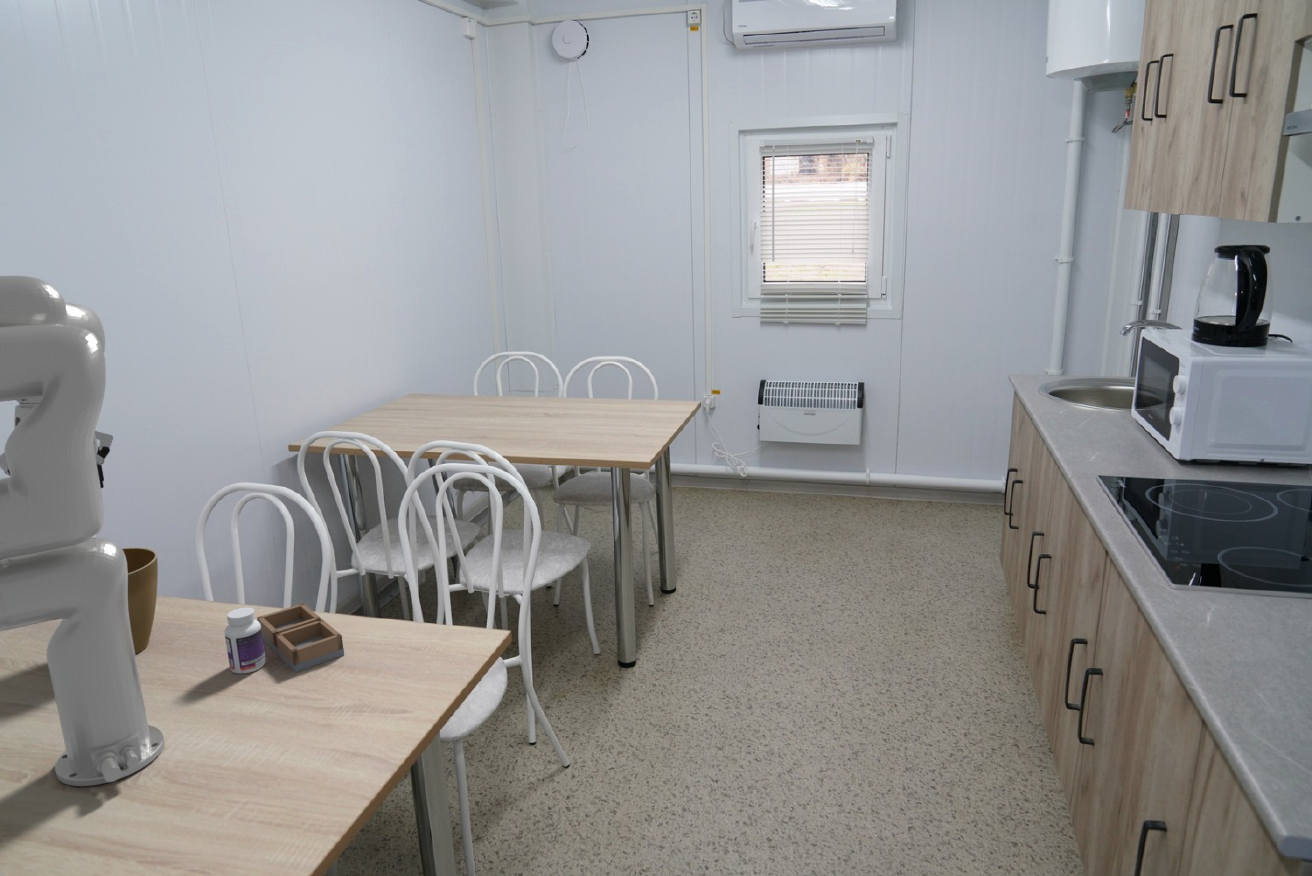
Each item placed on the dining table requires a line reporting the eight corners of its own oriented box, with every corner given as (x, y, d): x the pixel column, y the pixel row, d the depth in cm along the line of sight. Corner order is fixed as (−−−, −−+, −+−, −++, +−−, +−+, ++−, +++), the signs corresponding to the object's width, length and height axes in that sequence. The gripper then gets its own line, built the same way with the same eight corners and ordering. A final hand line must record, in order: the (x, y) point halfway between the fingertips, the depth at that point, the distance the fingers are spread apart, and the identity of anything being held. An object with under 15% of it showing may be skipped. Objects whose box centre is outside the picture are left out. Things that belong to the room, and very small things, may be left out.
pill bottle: (272, 658, 141) (265, 605, 139) (254, 675, 136) (246, 620, 134) (242, 657, 142) (234, 604, 140) (223, 673, 137) (214, 619, 134)
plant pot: (142, 622, 155) (127, 541, 151) (188, 642, 147) (175, 557, 143) (52, 657, 142) (34, 570, 138) (98, 681, 135) (80, 589, 131)
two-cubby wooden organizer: (344, 654, 142) (342, 635, 141) (295, 672, 137) (292, 651, 136) (305, 621, 154) (303, 603, 154) (259, 636, 149) (256, 617, 148)
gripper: (-2, 405, 125) (21, 514, 129) (115, 386, 140) (132, 484, 144) (-29, 401, 128) (-6, 507, 133) (88, 383, 143) (105, 478, 148)
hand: (66, 495), depth 138 cm, fingers open, 9 cm apart
